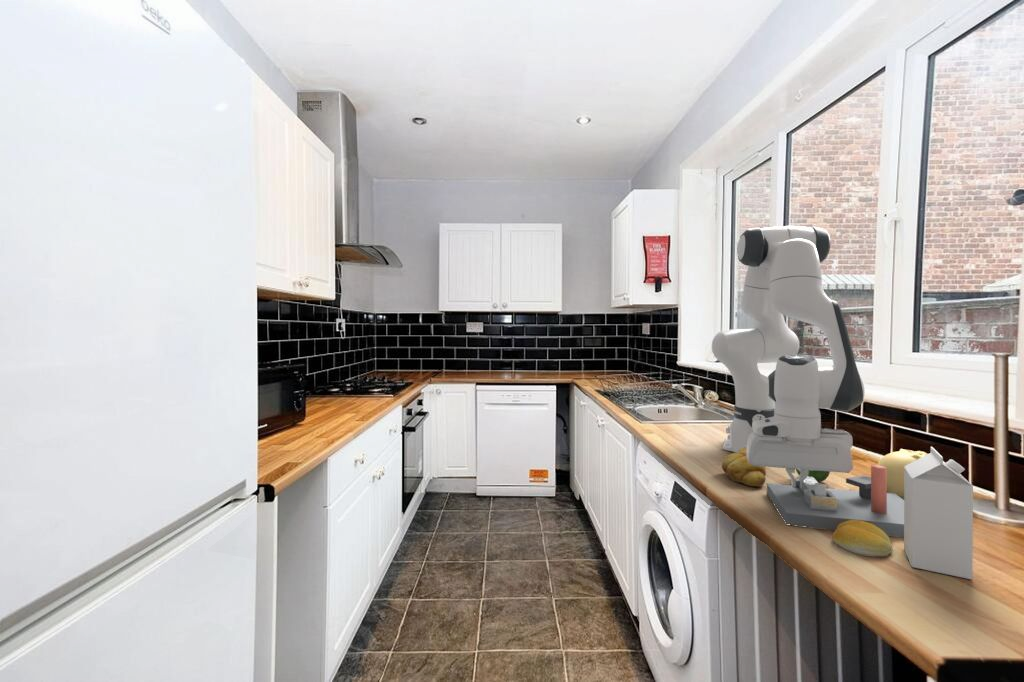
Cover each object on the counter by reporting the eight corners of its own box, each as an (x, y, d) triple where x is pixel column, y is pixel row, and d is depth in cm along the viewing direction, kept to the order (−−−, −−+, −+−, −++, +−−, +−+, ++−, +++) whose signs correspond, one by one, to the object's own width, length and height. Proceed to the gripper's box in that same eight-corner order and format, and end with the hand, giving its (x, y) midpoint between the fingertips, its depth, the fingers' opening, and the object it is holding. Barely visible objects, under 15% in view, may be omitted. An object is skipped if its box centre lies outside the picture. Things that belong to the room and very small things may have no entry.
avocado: (790, 475, 116) (790, 430, 116) (825, 478, 114) (825, 432, 113) (798, 485, 109) (798, 438, 109) (836, 489, 106) (835, 440, 106)
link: (837, 511, 88) (837, 499, 88) (810, 508, 90) (810, 496, 90) (816, 487, 101) (816, 477, 101) (793, 485, 102) (793, 475, 102)
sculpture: (961, 508, 94) (961, 458, 94) (896, 505, 96) (896, 456, 96) (922, 488, 105) (922, 444, 105) (865, 486, 108) (865, 442, 107)
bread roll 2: (829, 548, 80) (829, 526, 79) (839, 531, 86) (838, 511, 86) (889, 564, 74) (889, 541, 73) (894, 545, 80) (894, 523, 80)
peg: (868, 508, 89) (868, 464, 89) (883, 509, 89) (883, 465, 88) (874, 513, 87) (874, 468, 87) (889, 514, 86) (888, 469, 86)
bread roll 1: (774, 490, 106) (773, 458, 106) (731, 488, 109) (730, 456, 108) (756, 473, 119) (756, 444, 119) (718, 471, 121) (718, 443, 121)
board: (767, 493, 104) (766, 464, 104) (895, 504, 96) (895, 473, 96) (786, 525, 88) (786, 490, 88) (942, 541, 80) (942, 503, 80)
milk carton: (911, 568, 72) (912, 454, 72) (903, 549, 78) (903, 443, 77) (972, 581, 68) (973, 460, 68) (959, 560, 74) (960, 449, 73)
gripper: (846, 426, 98) (846, 487, 98) (744, 421, 105) (745, 478, 106) (858, 433, 92) (858, 497, 93) (749, 427, 99) (749, 487, 100)
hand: (797, 487), depth 99 cm, fingers closed
